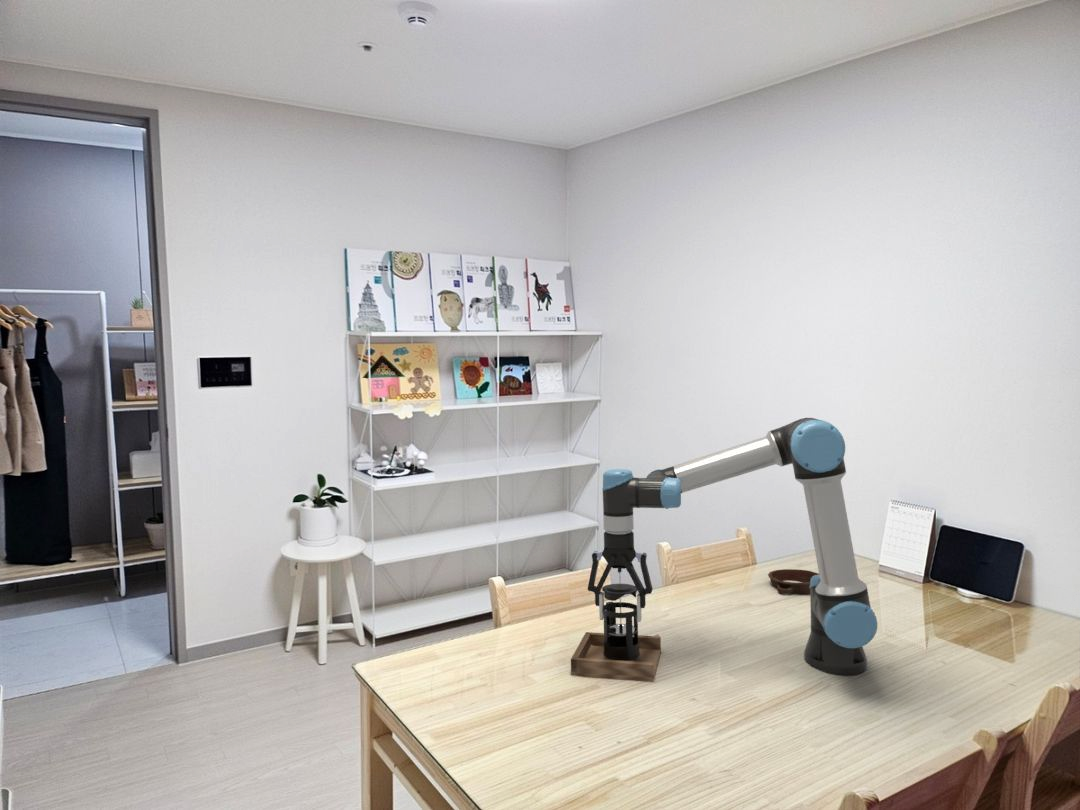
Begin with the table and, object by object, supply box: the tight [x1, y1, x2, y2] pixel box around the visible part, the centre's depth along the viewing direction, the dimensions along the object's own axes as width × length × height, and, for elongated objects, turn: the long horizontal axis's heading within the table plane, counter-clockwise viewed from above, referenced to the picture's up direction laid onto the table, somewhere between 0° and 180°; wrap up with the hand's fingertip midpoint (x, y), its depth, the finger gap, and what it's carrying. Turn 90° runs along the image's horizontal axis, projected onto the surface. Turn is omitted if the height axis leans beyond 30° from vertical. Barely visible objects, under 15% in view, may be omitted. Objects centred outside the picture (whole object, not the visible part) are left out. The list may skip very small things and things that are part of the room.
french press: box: [601, 566, 640, 661], centre depth 191 cm, size 12×9×23 cm
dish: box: [767, 568, 819, 595], centre depth 251 cm, size 18×22×5 cm
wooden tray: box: [570, 631, 662, 683], centre depth 191 cm, size 20×20×4 cm
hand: (620, 619), depth 190 cm, fingers closed on french press, 9 cm apart
